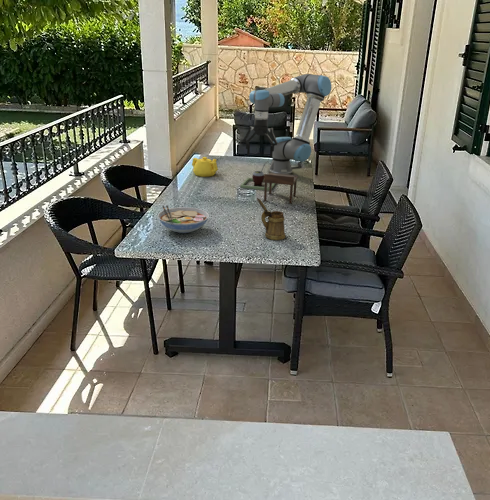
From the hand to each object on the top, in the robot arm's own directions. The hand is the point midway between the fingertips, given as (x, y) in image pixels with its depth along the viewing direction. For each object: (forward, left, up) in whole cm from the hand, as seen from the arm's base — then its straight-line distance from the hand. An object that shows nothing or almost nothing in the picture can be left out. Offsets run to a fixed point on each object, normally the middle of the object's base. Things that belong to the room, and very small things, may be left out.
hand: (259, 155), depth 296 cm
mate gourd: (0, 0, -18) cm, 18 cm away
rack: (+22, +17, -18) cm, 33 cm away
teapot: (-14, -37, -18) cm, 43 cm away
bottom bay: (0, 0, -18) cm, 18 cm away
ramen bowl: (+85, -16, -18) cm, 88 cm away
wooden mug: (+80, +23, -18) cm, 85 cm away
